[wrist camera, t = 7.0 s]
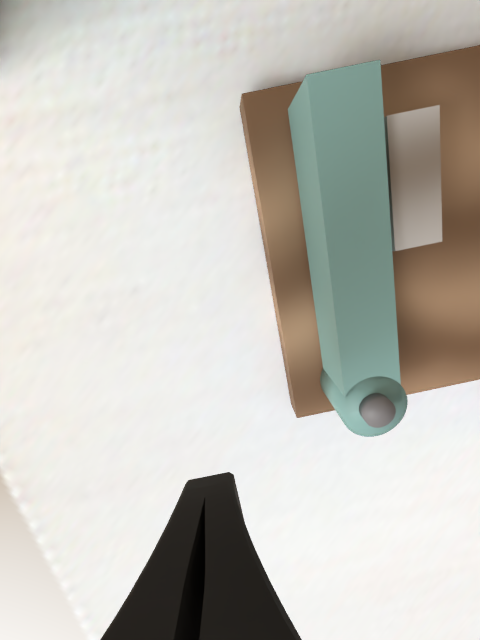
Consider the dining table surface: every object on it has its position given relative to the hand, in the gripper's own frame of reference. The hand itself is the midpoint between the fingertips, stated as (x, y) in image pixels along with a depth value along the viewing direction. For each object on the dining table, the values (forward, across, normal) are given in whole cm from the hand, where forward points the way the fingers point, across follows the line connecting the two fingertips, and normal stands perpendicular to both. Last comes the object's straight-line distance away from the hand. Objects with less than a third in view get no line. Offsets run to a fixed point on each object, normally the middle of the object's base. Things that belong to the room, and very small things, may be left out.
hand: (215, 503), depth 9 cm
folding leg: (+7, -7, -5) cm, 11 cm away
